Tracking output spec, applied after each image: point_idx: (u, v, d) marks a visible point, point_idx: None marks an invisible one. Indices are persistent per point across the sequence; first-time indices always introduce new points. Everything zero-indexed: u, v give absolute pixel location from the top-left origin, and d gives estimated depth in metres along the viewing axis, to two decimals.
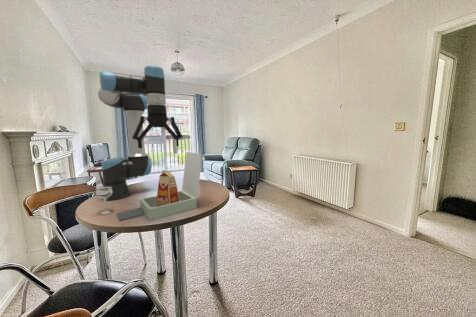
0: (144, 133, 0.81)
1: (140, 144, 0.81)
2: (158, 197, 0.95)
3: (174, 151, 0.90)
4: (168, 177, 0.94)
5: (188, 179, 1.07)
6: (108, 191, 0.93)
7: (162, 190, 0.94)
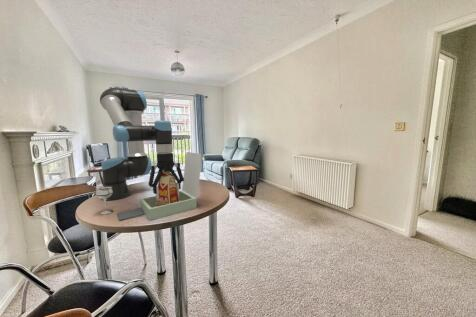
0: (157, 180, 0.94)
1: (155, 190, 0.94)
2: None
3: None
4: (168, 177, 0.94)
5: (188, 179, 1.07)
6: (108, 191, 0.93)
7: (161, 190, 0.94)
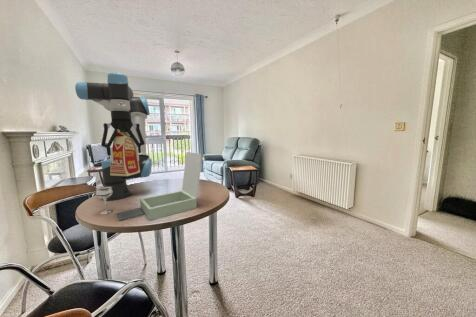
0: (111, 140, 0.84)
1: (109, 151, 0.84)
2: None
3: None
4: (123, 137, 0.85)
5: (188, 179, 1.07)
6: (108, 191, 0.93)
7: (116, 151, 0.85)
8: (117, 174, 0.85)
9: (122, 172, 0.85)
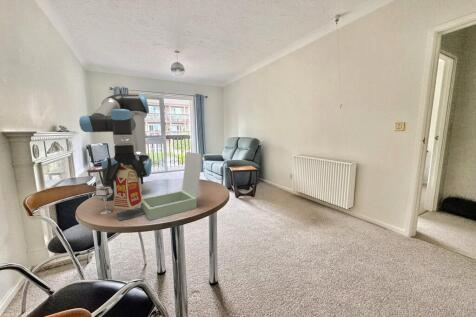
0: (114, 174, 0.86)
1: (112, 185, 0.86)
2: None
3: None
4: (126, 171, 0.87)
5: (188, 179, 1.07)
6: (108, 191, 0.93)
7: (119, 185, 0.87)
8: (120, 207, 0.87)
9: (125, 205, 0.87)
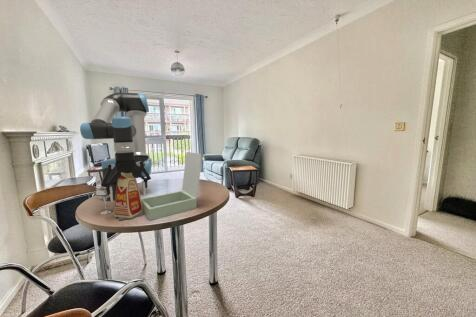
0: (112, 180, 0.86)
1: (108, 190, 0.86)
2: (116, 201, 0.88)
3: (143, 192, 0.95)
4: (127, 180, 0.87)
5: (188, 179, 1.07)
6: None
7: (120, 194, 0.87)
8: (121, 216, 0.88)
9: (126, 214, 0.87)
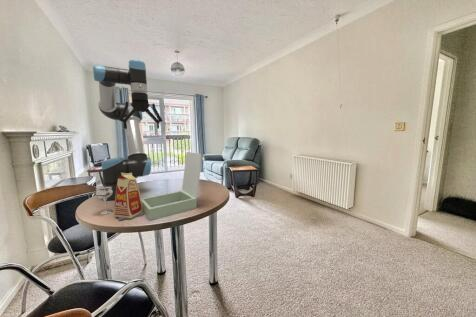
0: (128, 116, 0.97)
1: (125, 125, 0.97)
2: (116, 201, 0.88)
3: (155, 133, 1.06)
4: (127, 180, 0.87)
5: (188, 179, 1.07)
6: (108, 191, 0.93)
7: (120, 194, 0.87)
8: (121, 216, 0.88)
9: (126, 214, 0.87)
